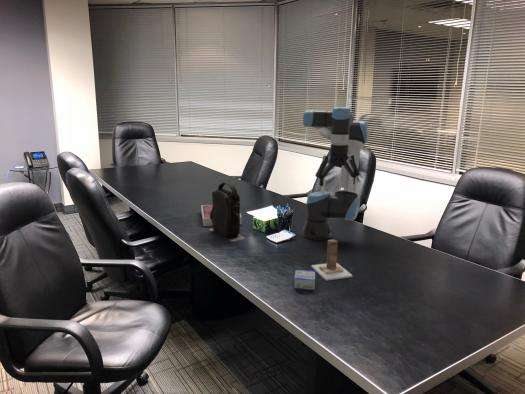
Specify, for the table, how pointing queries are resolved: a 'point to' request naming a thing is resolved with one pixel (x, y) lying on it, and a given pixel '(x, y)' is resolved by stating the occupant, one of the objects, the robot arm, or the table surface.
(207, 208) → the product packaging
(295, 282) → the medicine box
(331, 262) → the wooden stamp
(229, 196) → the shoulder bag
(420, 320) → the table surface
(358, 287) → the table surface
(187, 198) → the table surface
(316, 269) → the mat
